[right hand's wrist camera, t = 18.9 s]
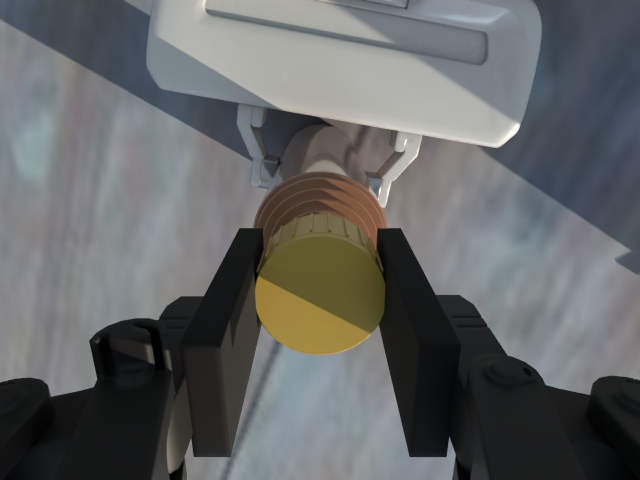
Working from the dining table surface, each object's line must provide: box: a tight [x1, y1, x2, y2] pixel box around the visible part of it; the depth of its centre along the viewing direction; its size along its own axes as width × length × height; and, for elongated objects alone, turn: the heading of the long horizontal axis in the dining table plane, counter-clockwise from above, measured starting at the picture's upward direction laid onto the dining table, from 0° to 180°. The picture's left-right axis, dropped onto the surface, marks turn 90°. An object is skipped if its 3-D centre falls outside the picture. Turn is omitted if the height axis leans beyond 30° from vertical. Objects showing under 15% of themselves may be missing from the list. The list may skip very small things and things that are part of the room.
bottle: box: [253, 124, 387, 251], centre depth 23 cm, size 5×5×21 cm
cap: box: [255, 213, 385, 355], centre depth 14 cm, size 4×4×2 cm
